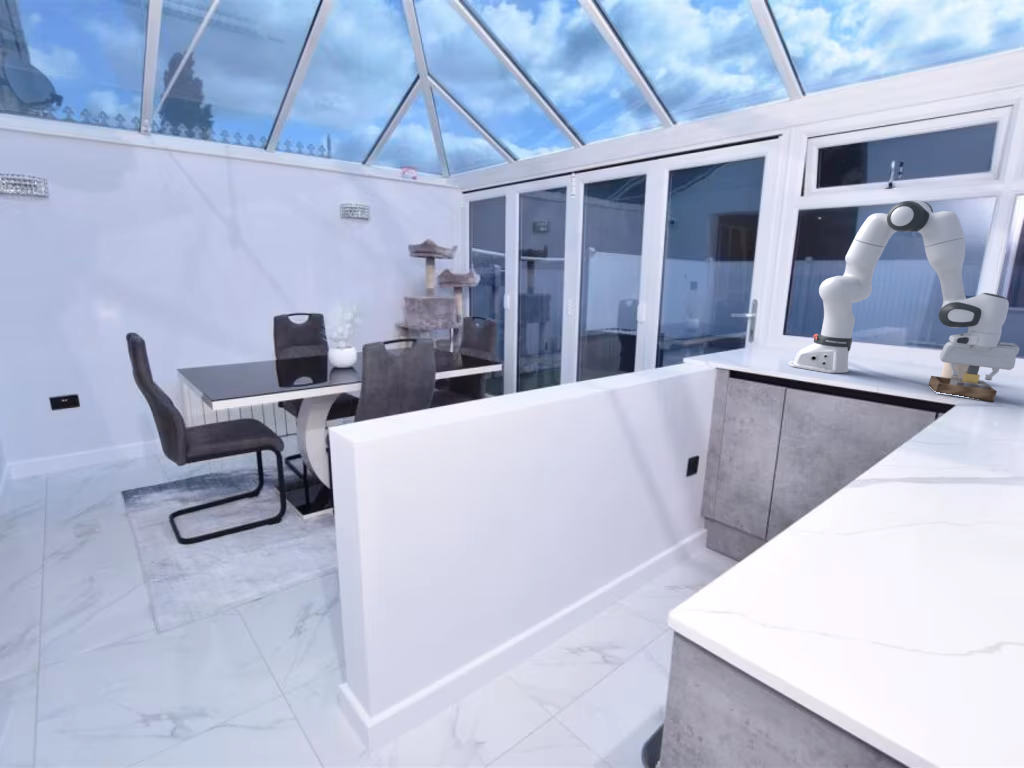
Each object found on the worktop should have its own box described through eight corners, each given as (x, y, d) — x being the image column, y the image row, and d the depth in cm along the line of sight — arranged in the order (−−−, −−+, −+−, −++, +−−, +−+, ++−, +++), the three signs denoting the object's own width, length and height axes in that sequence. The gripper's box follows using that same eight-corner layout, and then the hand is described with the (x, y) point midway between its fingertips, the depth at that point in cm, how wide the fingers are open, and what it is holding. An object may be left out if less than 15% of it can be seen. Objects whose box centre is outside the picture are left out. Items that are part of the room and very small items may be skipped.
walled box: (935, 394, 186) (939, 380, 184) (928, 385, 197) (931, 373, 196) (993, 402, 178) (997, 388, 177) (982, 393, 190) (986, 380, 189)
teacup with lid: (967, 383, 204) (976, 354, 201) (938, 378, 210) (946, 350, 207) (969, 378, 213) (977, 351, 210) (941, 374, 218) (948, 347, 215)
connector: (961, 392, 186) (969, 365, 183) (959, 390, 189) (966, 364, 186) (974, 394, 184) (982, 367, 182) (971, 392, 187) (979, 365, 185)
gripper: (1018, 342, 179) (1006, 380, 183) (944, 335, 189) (934, 371, 193) (1024, 345, 174) (1011, 384, 178) (948, 337, 184) (937, 375, 187)
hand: (971, 377), depth 185 cm, fingers open, 8 cm apart
